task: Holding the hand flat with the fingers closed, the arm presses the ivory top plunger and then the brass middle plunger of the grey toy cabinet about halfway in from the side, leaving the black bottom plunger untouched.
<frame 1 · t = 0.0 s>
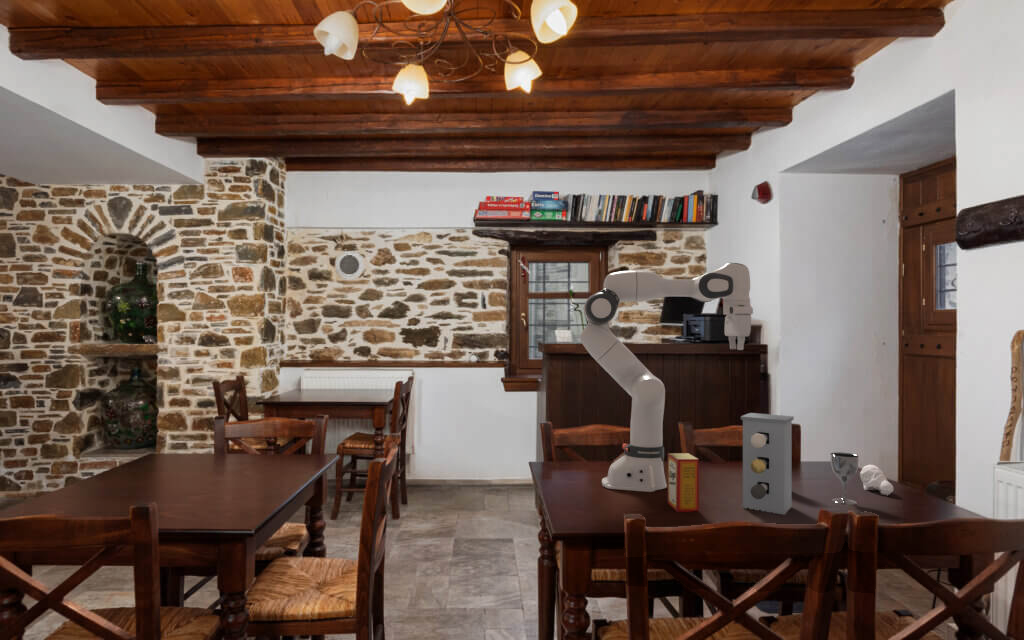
hand: (736, 349, 215), 48 cm above the table, tool pointing down, fingers open, 8 cm apart
grey toy cabinet: (767, 507, 191), on the table
white lumpy piece: (878, 493, 211), on the table
wine glass: (844, 502, 199), on the table
plunger low: (761, 489, 186), point 7 cm above the table, slide at 0.0 cm
plunger top: (761, 438, 186), point 22 cm above the table, slide at 0.0 cm
baking soda box: (682, 507, 191), on the table
plunger mid: (761, 463, 186), point 15 cm above the table, slide at 0.0 cm
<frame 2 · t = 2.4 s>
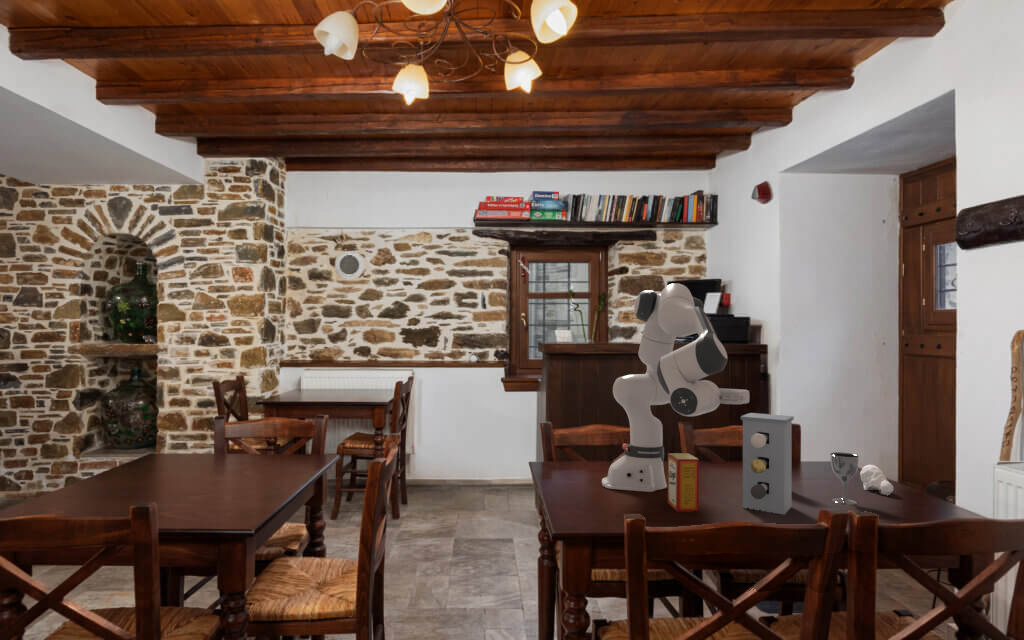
hand: (718, 392, 181), 36 cm above the table, tool horizontal, fingers open, 7 cm apart
nothing on the table moved.
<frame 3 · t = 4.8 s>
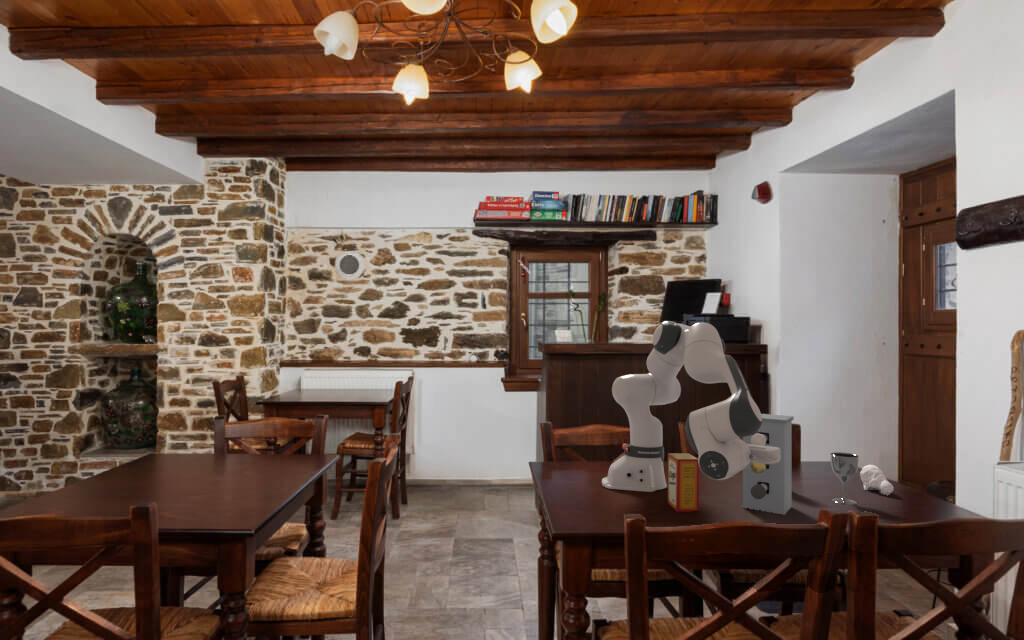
hand: (746, 446, 173), 22 cm above the table, tool horizontal, fingers closed
nothing on the table moved.
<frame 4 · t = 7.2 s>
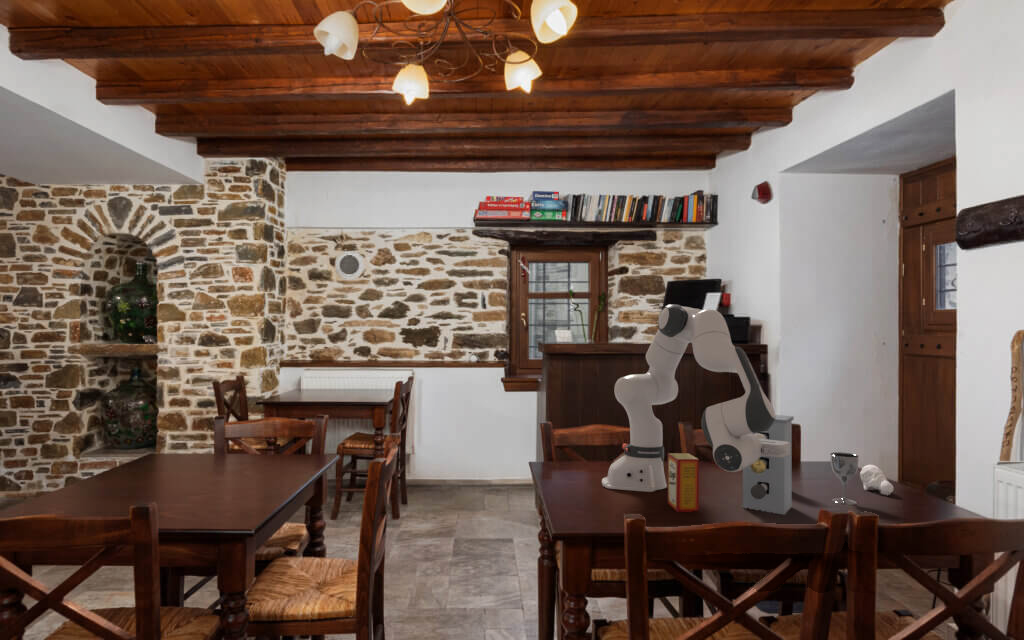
hand: (757, 441, 182), 22 cm above the table, tool horizontal, fingers closed, pressing on plunger top
plunger top: (761, 438, 186), point 22 cm above the table, slide at 0.1 cm, touching gripper
everything else where it was.
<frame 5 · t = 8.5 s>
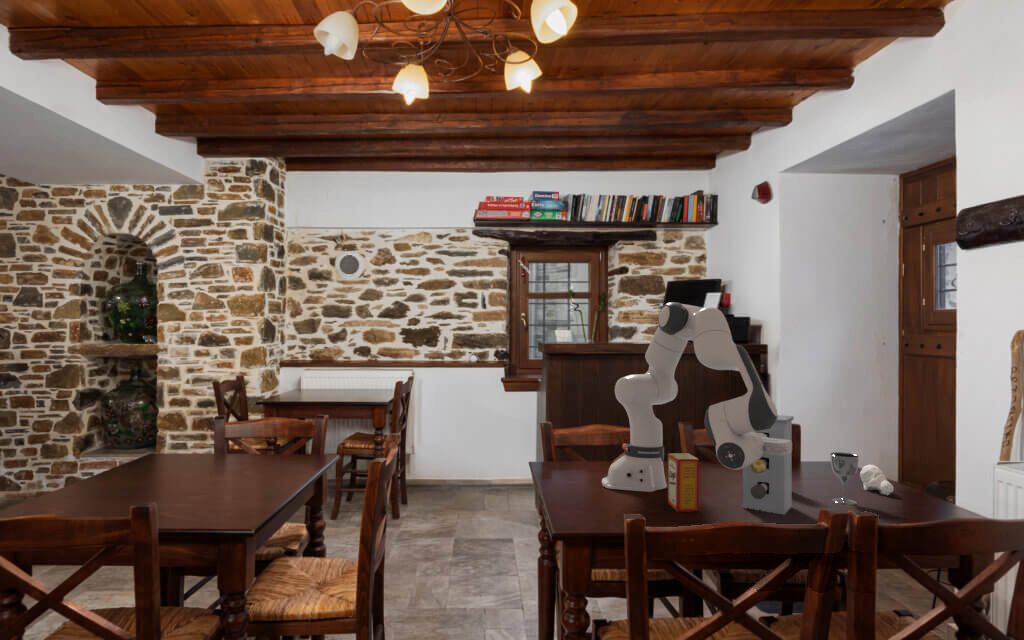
hand: (759, 440, 184), 22 cm above the table, tool horizontal, fingers closed
plunger top: (763, 437, 188), point 22 cm above the table, slide at 2.1 cm
everything else where it was.
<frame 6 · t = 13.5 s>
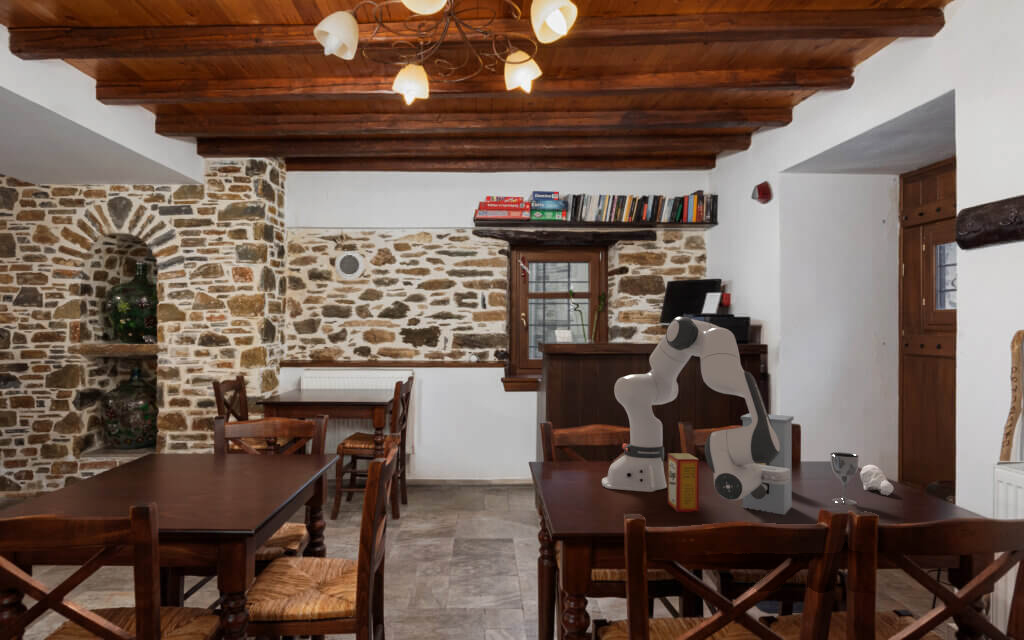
hand: (757, 466, 183), 14 cm above the table, tool horizontal, fingers closed, pressing on plunger mid
plunger mid: (762, 463, 187), point 15 cm above the table, slide at 0.7 cm, touching gripper
everything else where it was.
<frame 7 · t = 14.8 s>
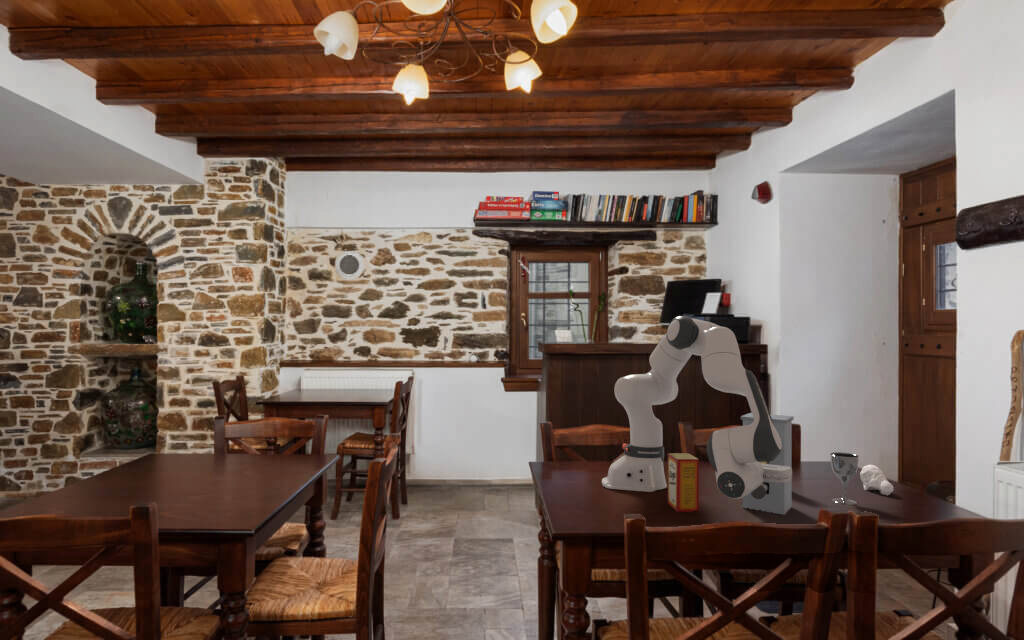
hand: (759, 465, 183), 15 cm above the table, tool horizontal, fingers closed
plunger mid: (763, 462, 188), point 15 cm above the table, slide at 2.1 cm
everything else where it was.
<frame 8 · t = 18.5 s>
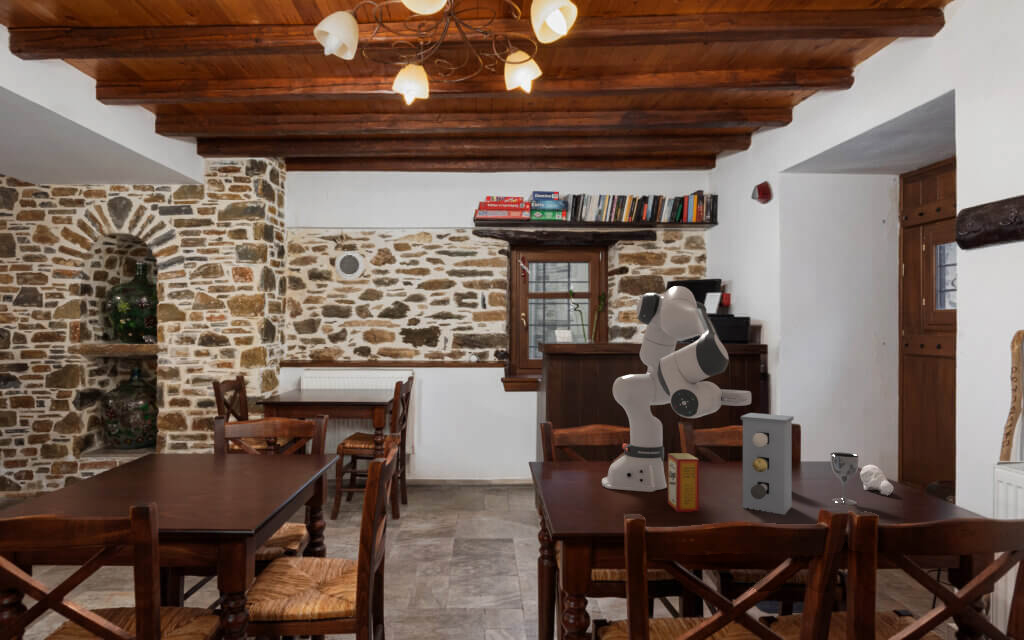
hand: (720, 394, 179), 36 cm above the table, tool horizontal, fingers closed
nothing on the table moved.
at the end: plunger top slide at 2.1 cm; plunger mid slide at 2.1 cm; plunger low slide at 0.0 cm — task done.
